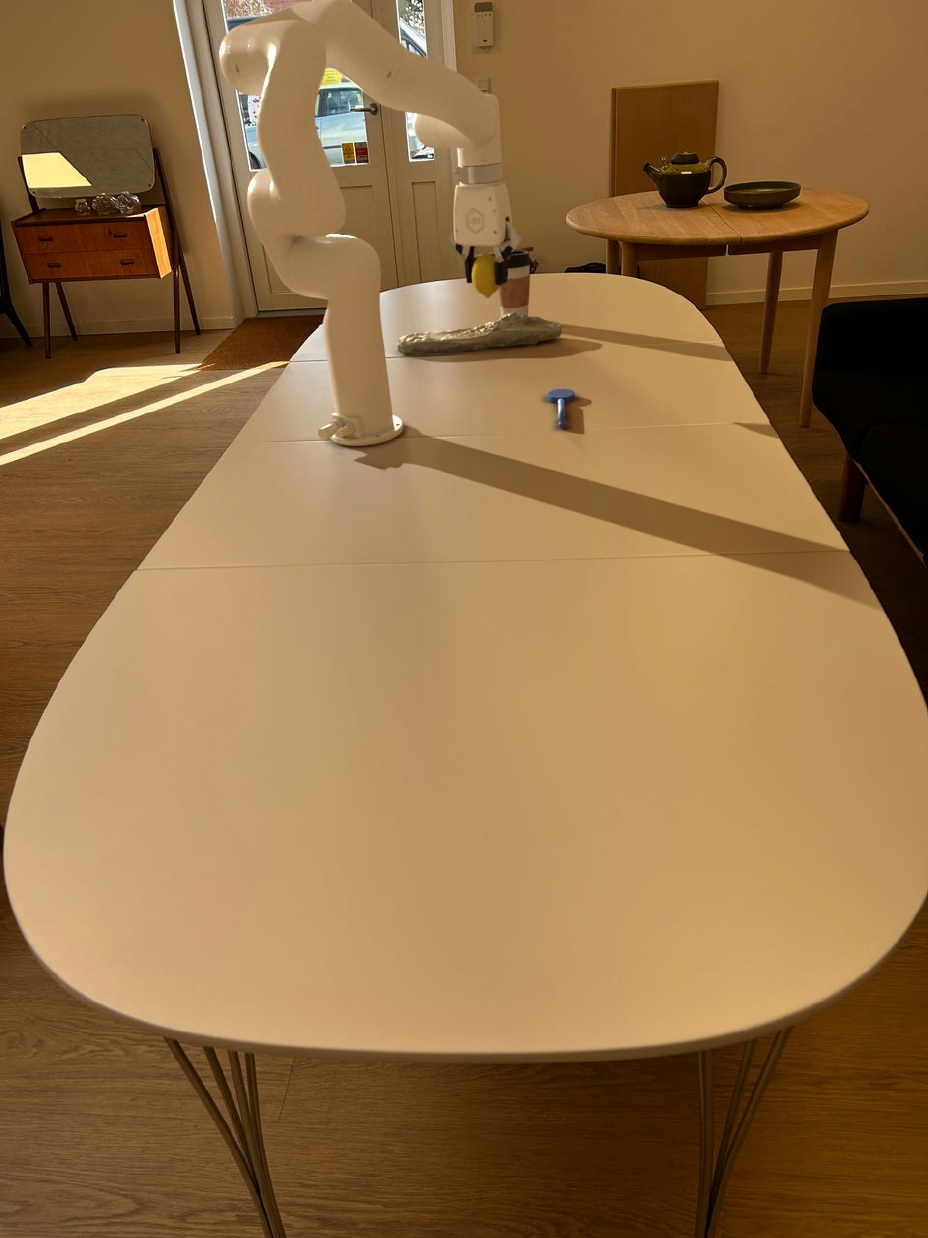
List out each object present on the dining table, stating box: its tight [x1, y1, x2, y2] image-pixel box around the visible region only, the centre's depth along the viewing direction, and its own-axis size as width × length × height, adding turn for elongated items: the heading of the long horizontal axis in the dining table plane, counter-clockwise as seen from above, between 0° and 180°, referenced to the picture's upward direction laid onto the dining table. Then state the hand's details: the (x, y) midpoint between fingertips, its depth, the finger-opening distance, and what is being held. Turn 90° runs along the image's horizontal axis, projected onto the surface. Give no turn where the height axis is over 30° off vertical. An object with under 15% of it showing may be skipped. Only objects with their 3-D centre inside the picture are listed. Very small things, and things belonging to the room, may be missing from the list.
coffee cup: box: [494, 249, 532, 317], centre depth 208 cm, size 8×8×15 cm
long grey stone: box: [396, 312, 563, 356], centre depth 197 cm, size 35×5×10 cm
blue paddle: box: [547, 388, 576, 430], centre depth 160 cm, size 18×5×1 cm, turn 176°
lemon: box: [472, 252, 500, 299], centre depth 172 cm, size 6×6×8 cm
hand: (487, 281), depth 172 cm, fingers closed on lemon, 5 cm apart
